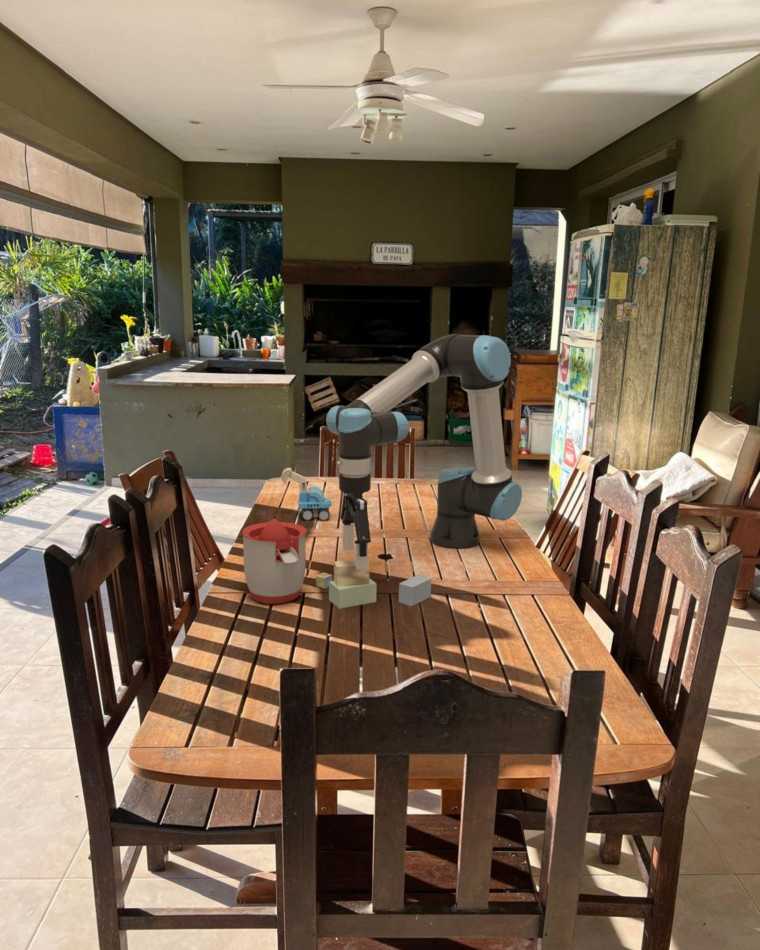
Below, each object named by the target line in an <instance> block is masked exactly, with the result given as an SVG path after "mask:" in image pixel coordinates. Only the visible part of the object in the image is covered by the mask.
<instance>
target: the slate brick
mask: <svg viewBox="0 0 760 950" xmlns="http://www.w3.org/2000/svg"><path fill="white" fill-rule="evenodd" d="M431 592H432V578H431V577H427V576H424V575H419V574H418V575H415V576H412V577H410V578H408V579H406V580H404V581H402V582H399V583H398V603H400V604H404V605H405V606H409V607H413V606H415V605H418V604H420V603H422V602H423V601H425V600H427V599H429V598H431V597H432V596H431V594H432V593H431Z"/></svg>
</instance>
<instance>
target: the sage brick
mask: <svg viewBox="0 0 760 950" xmlns="http://www.w3.org/2000/svg"><path fill="white" fill-rule="evenodd" d="M377 586H378V585H377V582H375V581H374V580H373V579H371V578H370V577H369V584H368V585H353V586H338V587H337V586H336V584H335V582H334V580H332V581H330V582H329V587H328V600H329V602H331V603H332V604H333V605H334V606H335V607H336V608H338V609H340V610H341V609H345V608H350V607H355V606H357V607H358V606H362V605H367V604H372V603H377Z"/></svg>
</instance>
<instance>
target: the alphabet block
mask: <svg viewBox="0 0 760 950" xmlns="http://www.w3.org/2000/svg"><path fill="white" fill-rule="evenodd" d="M330 581H333V575H332V574H329V573H327V572H321V573H319V574H316V576H315V585H316V586H315V587H318V588H322V589H329V582H330Z"/></svg>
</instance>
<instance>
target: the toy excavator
mask: <svg viewBox="0 0 760 950" xmlns="http://www.w3.org/2000/svg"><path fill="white" fill-rule="evenodd" d="M289 478H290V479H292V480H293V481H295V482H297V483H298V485H299V494H298V495H299V496H298V504H297V505H298V509H300V510H301V512H300V513H301V518H302V520H304V521H306V522H309V521H311V520H313V518H318V520H320V521H323V522H325V521H326V522H327V520H329V519H330V516H331V513H330V508H331V507H332V499H330V498H328V497H325V494H324V492H323V490H322V489H321V488H319V487H317V486H310V487H309V488H308V485H307V480H306V479H307V478H306V477H305V476H303V475H301V474H299V473H297V472H295V471H293V470H292V467H287V468H284V469H283V470H282V473H281V481H282V483H284V484H287V482H288V480H289Z"/></svg>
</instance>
